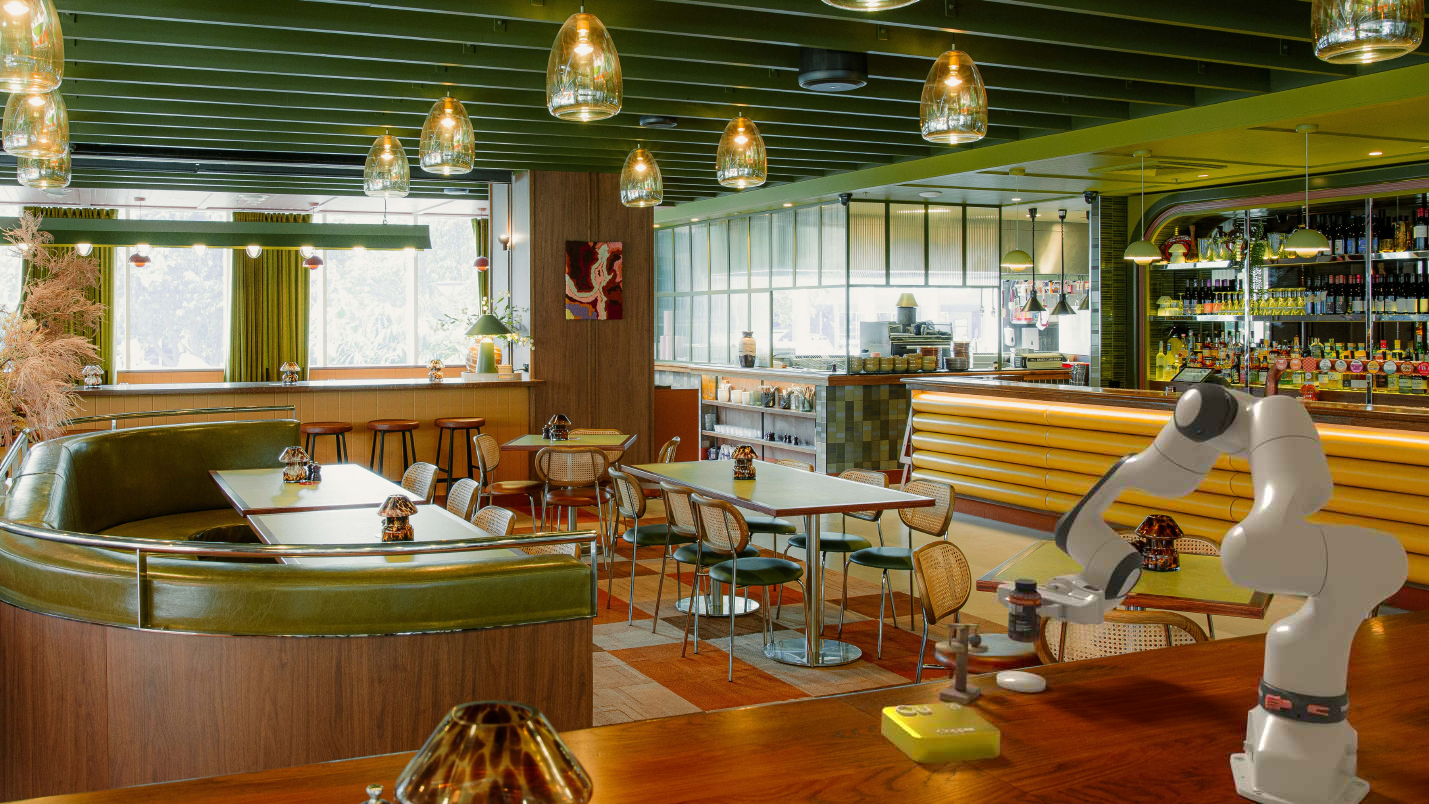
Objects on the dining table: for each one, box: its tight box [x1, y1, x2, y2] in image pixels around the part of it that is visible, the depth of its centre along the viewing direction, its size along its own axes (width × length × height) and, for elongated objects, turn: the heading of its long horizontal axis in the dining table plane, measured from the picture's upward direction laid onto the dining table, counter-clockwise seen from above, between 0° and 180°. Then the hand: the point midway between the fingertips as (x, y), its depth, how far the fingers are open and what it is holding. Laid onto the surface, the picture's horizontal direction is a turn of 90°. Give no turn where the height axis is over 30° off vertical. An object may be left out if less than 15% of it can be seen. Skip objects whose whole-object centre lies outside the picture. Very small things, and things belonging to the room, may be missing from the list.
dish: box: [996, 670, 1047, 693], centre depth 207 cm, size 9×9×1 cm
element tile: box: [880, 702, 1001, 764], centre depth 176 cm, size 15×15×5 cm
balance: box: [934, 623, 989, 706], centre depth 199 cm, size 19×5×15 cm, turn 148°
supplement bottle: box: [1007, 578, 1042, 644], centre depth 207 cm, size 6×6×11 cm
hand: (1022, 607), depth 206 cm, fingers closed on supplement bottle, 6 cm apart
